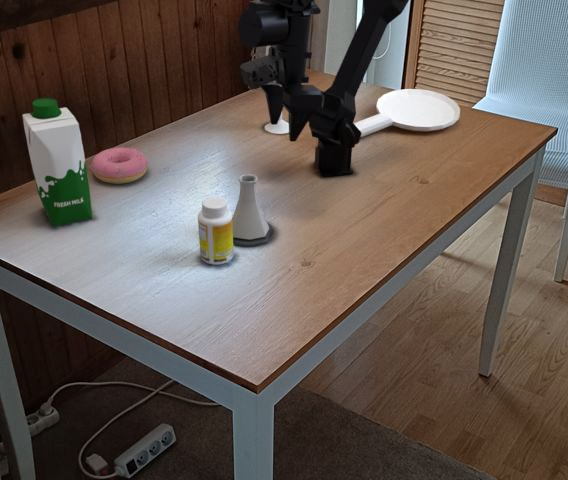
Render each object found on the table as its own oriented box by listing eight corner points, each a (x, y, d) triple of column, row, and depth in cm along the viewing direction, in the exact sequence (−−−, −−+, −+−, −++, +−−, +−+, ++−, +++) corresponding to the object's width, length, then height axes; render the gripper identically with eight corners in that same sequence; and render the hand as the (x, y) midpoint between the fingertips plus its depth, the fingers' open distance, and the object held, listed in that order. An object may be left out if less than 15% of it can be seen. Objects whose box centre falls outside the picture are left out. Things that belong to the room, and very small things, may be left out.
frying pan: (363, 169, 156) (365, 149, 152) (306, 134, 166) (307, 114, 163) (475, 123, 172) (479, 104, 168) (416, 93, 182) (419, 75, 179)
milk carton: (85, 199, 140) (67, 93, 127) (99, 220, 133) (81, 111, 121) (38, 208, 136) (14, 101, 124) (50, 231, 130) (27, 120, 118)
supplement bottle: (238, 252, 126) (237, 197, 119) (225, 269, 122) (223, 213, 115) (208, 246, 127) (205, 191, 121) (194, 262, 123) (190, 207, 117)
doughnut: (160, 173, 148) (158, 154, 146) (116, 192, 142) (114, 172, 139) (124, 157, 154) (122, 138, 151) (81, 175, 147) (78, 155, 145)
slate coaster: (266, 218, 135) (266, 215, 135) (279, 243, 128) (280, 240, 128) (218, 224, 133) (217, 221, 133) (229, 249, 126) (229, 247, 126)
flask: (270, 240, 128) (271, 187, 122) (228, 241, 128) (227, 188, 121) (267, 219, 134) (267, 167, 127) (227, 220, 133) (225, 169, 127)
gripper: (229, 28, 131) (224, 117, 140) (267, 56, 117) (259, 152, 126) (287, 30, 135) (279, 115, 144) (330, 56, 121) (319, 150, 130)
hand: (282, 132), depth 135 cm, fingers open, 9 cm apart
